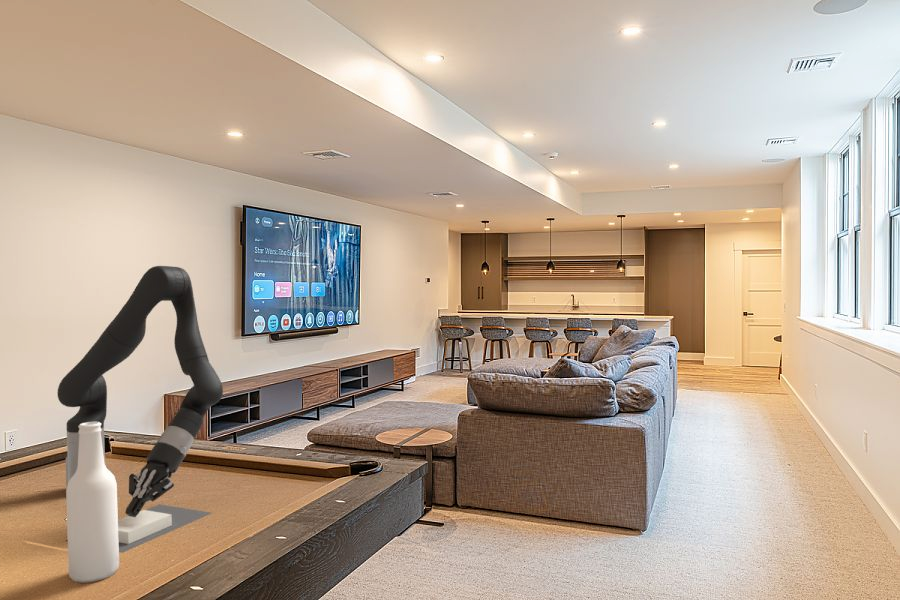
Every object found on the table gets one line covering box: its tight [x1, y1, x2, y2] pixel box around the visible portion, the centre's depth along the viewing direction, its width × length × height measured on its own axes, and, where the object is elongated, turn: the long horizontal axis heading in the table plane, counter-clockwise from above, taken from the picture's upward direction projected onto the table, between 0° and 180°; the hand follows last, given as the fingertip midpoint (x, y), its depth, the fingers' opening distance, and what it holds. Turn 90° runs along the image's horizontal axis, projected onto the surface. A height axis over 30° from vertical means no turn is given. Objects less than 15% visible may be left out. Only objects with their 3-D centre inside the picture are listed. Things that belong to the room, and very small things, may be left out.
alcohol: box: [65, 422, 120, 584], centre depth 129 cm, size 9×9×30 cm
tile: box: [118, 509, 172, 544], centre depth 151 cm, size 9×3×12 cm
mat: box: [65, 503, 212, 553], centre depth 155 cm, size 18×26×1 cm
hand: (129, 515), depth 149 cm, fingers closed
